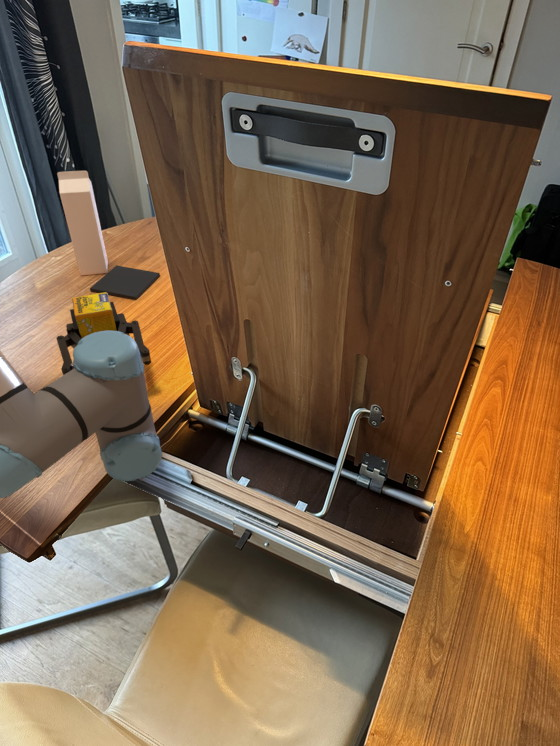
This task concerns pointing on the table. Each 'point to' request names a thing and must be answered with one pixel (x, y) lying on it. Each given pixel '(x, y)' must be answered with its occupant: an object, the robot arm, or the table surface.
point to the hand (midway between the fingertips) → (93, 312)
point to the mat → (125, 282)
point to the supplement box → (93, 314)
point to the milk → (83, 222)
